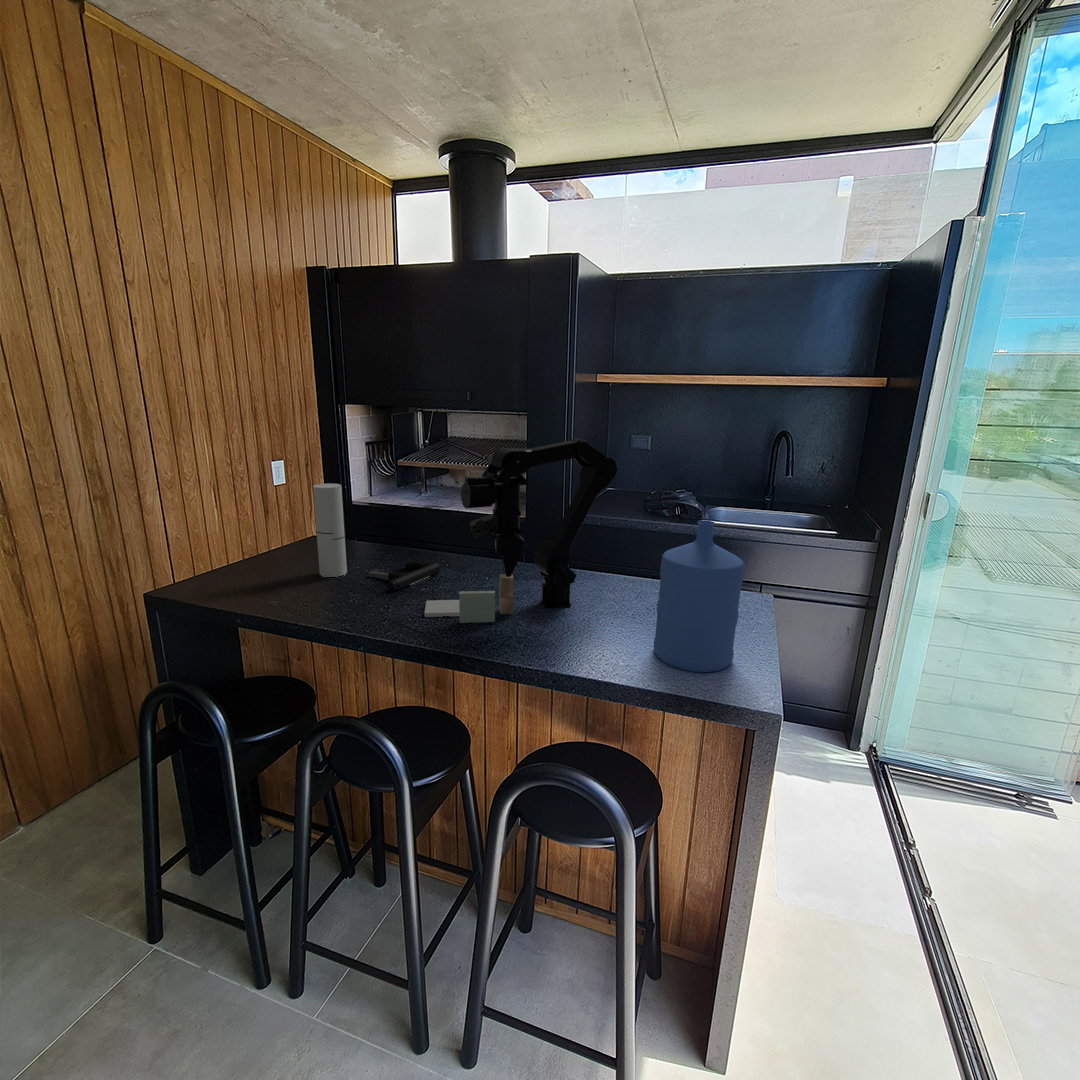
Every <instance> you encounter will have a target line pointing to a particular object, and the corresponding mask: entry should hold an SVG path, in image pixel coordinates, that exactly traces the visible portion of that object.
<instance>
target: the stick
mask: <svg viewBox="0 0 1080 1080" xmlns="http://www.w3.org/2000/svg"><path fill="white" fill-rule="evenodd" d="M498 588H499V589H498V590H499V594H498V595H499V600H498V602H499V603H498V604H499V605H498V607H499V609H498V610H499V615H513V613H514V575H513V574H512V575H511V577H506V573H499V587H498Z"/></svg>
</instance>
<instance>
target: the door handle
mask: <svg viewBox="0 0 1080 1080" xmlns="http://www.w3.org/2000/svg"><path fill="white" fill-rule="evenodd" d="M404 566H405V567H402V568H399V569H398V570H394V571H392V572H383V571H376V570H371V571H369V572H368V571H367V575H368V577H369V576H373V577H376V578H381V579H385V580H389V581H390V582H389V581H388V583H387V589H388V590H389V591H391V592H394V591H395V592H396V590H397V591H398V590H401V589H405V588H406V587H409V586H408V585H412V584H414V585H416V584H415V583H417V582H419V581H421V580H423V579H426V578H428V577H430V578H431V577H432V576H434V575H437V574H439V573H440V572H441V570H442V567H441V565H440V564H439V563H438V562H434V563H427V562H422V561H421V562H420V561H414V560H413V561H408V562H406V563H405V565H404ZM414 570H415V571H414ZM412 571H413V572H412ZM409 572H411V573H409ZM433 574H434V575H433ZM431 575H432V576H431ZM376 578H375V579H376ZM381 579H380V580H381ZM428 579H429V578H428ZM385 580H384V581H385ZM426 580H427V579H426ZM423 581H424V580H423ZM421 582H422V581H421ZM419 583H420V582H419ZM417 584H418V583H417ZM412 586H413V585H412Z"/></svg>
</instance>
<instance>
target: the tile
mask: <svg viewBox="0 0 1080 1080" xmlns="http://www.w3.org/2000/svg"><path fill="white" fill-rule="evenodd" d="M458 595H459V598H458V600H459V615H460V616H459V624H467V623H468V624H469V623H470V624H471V622H472V623H495V622H496V590H475V591H474V590H473V591H470V590H469V591H467V590H466V591H459V592H458Z"/></svg>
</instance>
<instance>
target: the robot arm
mask: <svg viewBox="0 0 1080 1080" xmlns="http://www.w3.org/2000/svg"><path fill="white" fill-rule="evenodd" d="M569 459H570V460H571V459H573V460H574V461H575V462H576V463H577V465H579V466H580V467H581V470H580V475H579V486H578V489H577V491H576V493H575V494H574V496H573V498H572V501H571V502H570V504H569V506H568V507H567V510H566V511H565V513H564V515H563V517H562V519H561V522H560V523H559V525H558V527H557V529H556V531H555V532H554V534H553V536H552V537H551V538H550V539H549V540H548V541H546V540H544V539H542V540H541V541H540V543H539V546H538V548H537V549H536V551H535V552H533V554H534V555H535V556H534V559H533V562H534V565H535V568H536V569H537V570H538V571H539V574H540V575H541V576H542V577H543V582H542V583H541V584H540V600H541V602H542V603H543V604H544V607H545V608H557V607H558V608H560V607H562V608H563V607H571V606H572V603H571V601H570V599H571V598H570V597H571V584H574V583H575V580H576V577H577V575H576V573H575V572H574V571H573V570H572V569H571V568H570V567H569V564H570V561H571V558H572V557H571V556H572V555H571V552H572V545H573V543H574V541H575V539H576V537H577V535H578V533H579V531H580V529H581V527H582V525H583V523H584V521H585V520H586V518H587V516H588V514H589V512H590V510H591V508H592V506H593V505H594V502H595V501H596V499H597V497H598V495H599V494H600V493H601V492H603V491H604V490H605V489H607V488H608V487H609V486H610V484H611V483H612V482H613V480H614V479H615V477H616V476H617V473H618V468H617V464H616V461H615V460H614V459H613V458H611V457H609V456H608V457H607V456H606V455H604V454H603V453H601V451H599V450H597V449H596V448H594V447H593V446H591V444H589V443H588V442H587V441H586V440H583V439H578V438H572V439H570V440H565V441H561V442H556V443H552V444H546V445H541V446H536V447H531V448H530V447H529V448H520V447H519V448H517V447H516V448H515V447H513V448H512V447H509V448H508V447H507V448H505V447H502V448H498V449H497V450H495V451H494V453H493V454H492V457H491V461H490V463H489V464H488V466H487V468H486V469H485V470H484V472H483V474H482V475H481V476H477V477H476V476H475V477H472V476H465V477H464V482H463V484H462V486H461V490H460V499H461V503H462V506H463V507H464V509H475V508H476V509H478V508H486V507H487V508H489V507H491V506H493V504H494V507H493V509H492V513H491V514H488V515H485V516H482V517H479V518H476V519H474V520H471V521H470V522H469V527H470V529H471V532H472V534H473V537H474V539H479V538H481V537H482V536H484V535H488V534H491V533H492V534H491V535H492V537H493V538H494V540H495V541H494V545H495V546H494V547H495V548H494V549H495V552H496V553H497V554H499V555H500V556H501V561H502V565H503V567H504V572H505V573H504V574H506V577H511V575H513V573H514V570H515V569H516V567H517V564H518V562H519V560H520V558H521V556H522V554H523V553H524V551H525V547H526V542H525V539H524V537H522V536H521V535H520V534H521V530H522V529H521V526H520V525H521V524H520V522H521V519H520V517H521V516H522V511H521V486H529V485H530V481H528V480H527V479H526V478H525V477H524V475H523V474H526V473H528V472H529V471H531V470H532V469H533V468H535V467H539V466H542V465H546V464H552V463H556V462H559V461H561V462H562V461H566V460H569Z"/></svg>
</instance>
